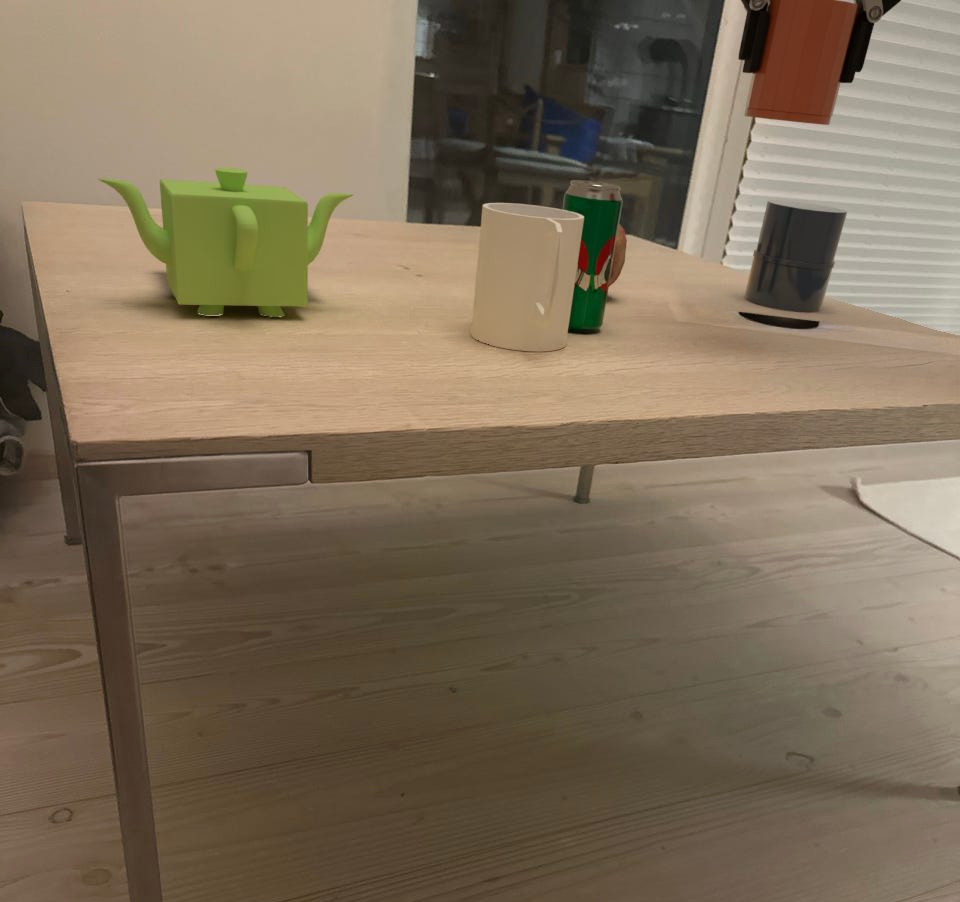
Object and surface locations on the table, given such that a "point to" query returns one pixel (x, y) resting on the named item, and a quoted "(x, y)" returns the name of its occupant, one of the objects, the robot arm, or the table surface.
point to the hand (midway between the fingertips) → (796, 75)
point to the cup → (525, 276)
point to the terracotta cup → (802, 60)
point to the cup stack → (793, 261)
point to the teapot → (232, 240)
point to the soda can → (593, 250)
